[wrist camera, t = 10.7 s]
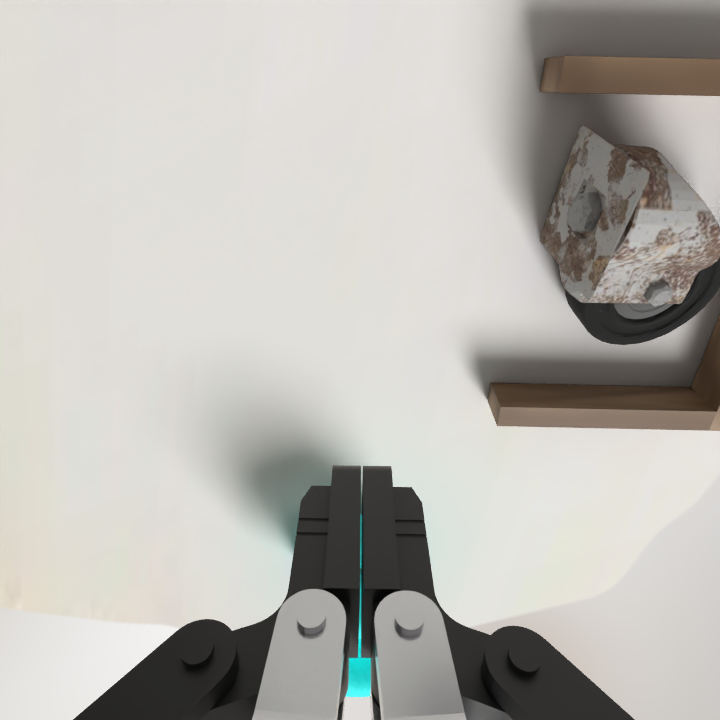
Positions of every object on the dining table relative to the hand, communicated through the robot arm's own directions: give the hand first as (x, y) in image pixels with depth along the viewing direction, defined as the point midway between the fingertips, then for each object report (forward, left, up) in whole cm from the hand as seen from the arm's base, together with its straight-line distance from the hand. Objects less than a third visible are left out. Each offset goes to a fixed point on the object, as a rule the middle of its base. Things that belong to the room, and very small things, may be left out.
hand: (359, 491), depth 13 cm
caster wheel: (-1, +16, -21) cm, 26 cm away
